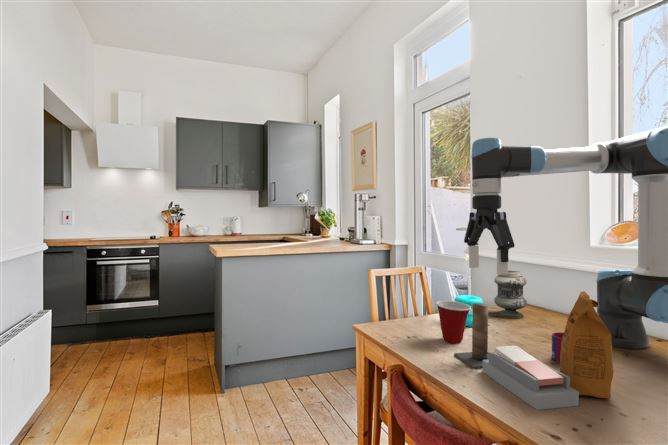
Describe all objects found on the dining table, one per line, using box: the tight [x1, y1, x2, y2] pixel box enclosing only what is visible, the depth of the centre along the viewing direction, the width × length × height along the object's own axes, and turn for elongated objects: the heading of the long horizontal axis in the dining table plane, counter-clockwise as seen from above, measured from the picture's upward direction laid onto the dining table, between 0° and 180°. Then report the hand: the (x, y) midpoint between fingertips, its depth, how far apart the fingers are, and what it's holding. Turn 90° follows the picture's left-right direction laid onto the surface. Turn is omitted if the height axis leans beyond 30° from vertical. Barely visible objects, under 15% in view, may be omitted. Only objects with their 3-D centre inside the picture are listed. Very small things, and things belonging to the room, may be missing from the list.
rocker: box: [493, 345, 564, 386], centre depth 90 cm, size 16×6×1 cm, turn 11°
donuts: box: [453, 294, 484, 328], centre depth 143 cm, size 10×10×10 cm
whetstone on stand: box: [482, 351, 580, 411], centre depth 90 cm, size 10×20×6 cm, turn 11°
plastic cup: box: [436, 300, 472, 344], centre depth 124 cm, size 11×11×12 cm
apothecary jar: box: [493, 269, 528, 319], centre depth 155 cm, size 12×12×18 cm
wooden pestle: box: [471, 302, 489, 361], centre depth 107 cm, size 4×4×15 cm
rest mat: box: [453, 351, 489, 370], centre depth 107 cm, size 10×10×1 cm
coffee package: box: [559, 291, 615, 399], centre depth 89 cm, size 10×12×22 cm
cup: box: [551, 331, 564, 364], centre depth 106 cm, size 7×10×7 cm
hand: (487, 271), depth 107 cm, fingers open, 13 cm apart
